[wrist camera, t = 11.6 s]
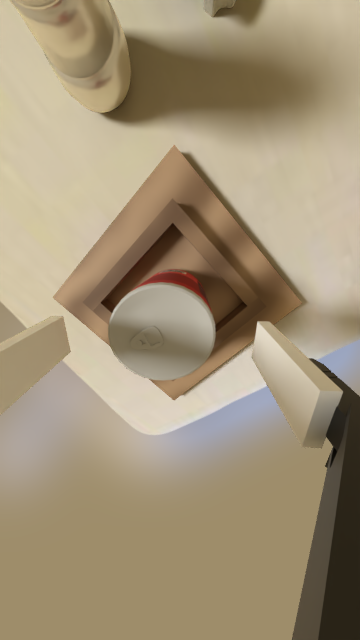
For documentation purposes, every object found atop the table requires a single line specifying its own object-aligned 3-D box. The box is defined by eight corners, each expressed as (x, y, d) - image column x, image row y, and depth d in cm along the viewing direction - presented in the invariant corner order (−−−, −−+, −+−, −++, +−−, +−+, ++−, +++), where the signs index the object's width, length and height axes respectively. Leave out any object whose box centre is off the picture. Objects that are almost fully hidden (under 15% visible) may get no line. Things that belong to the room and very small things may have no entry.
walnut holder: (59, 294, 27) (41, 301, 23) (175, 151, 21) (172, 133, 17) (174, 393, 31) (172, 410, 28) (296, 300, 25) (311, 307, 22)
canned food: (129, 295, 25) (84, 329, 14) (178, 253, 23) (169, 257, 12) (168, 339, 26) (154, 398, 16) (217, 304, 24) (238, 345, 14)
